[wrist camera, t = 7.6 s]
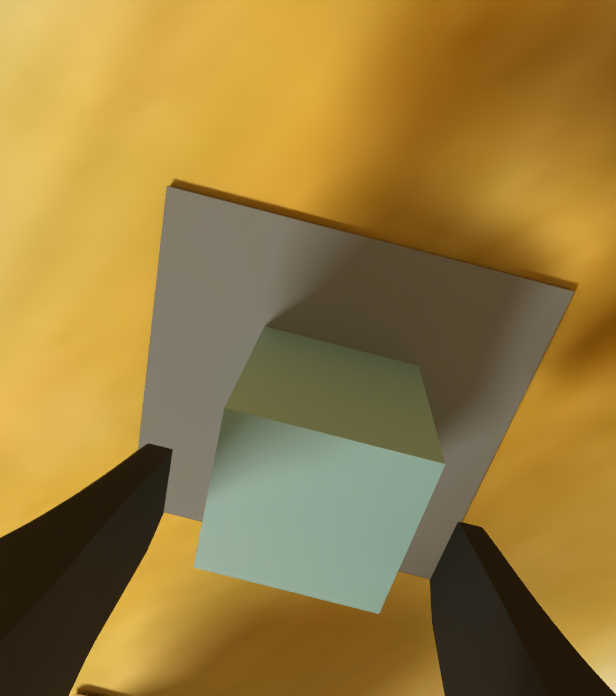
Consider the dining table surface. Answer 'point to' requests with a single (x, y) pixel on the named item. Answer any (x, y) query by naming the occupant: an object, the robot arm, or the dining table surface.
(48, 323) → the dining table surface
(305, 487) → the teal cube
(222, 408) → the pad
